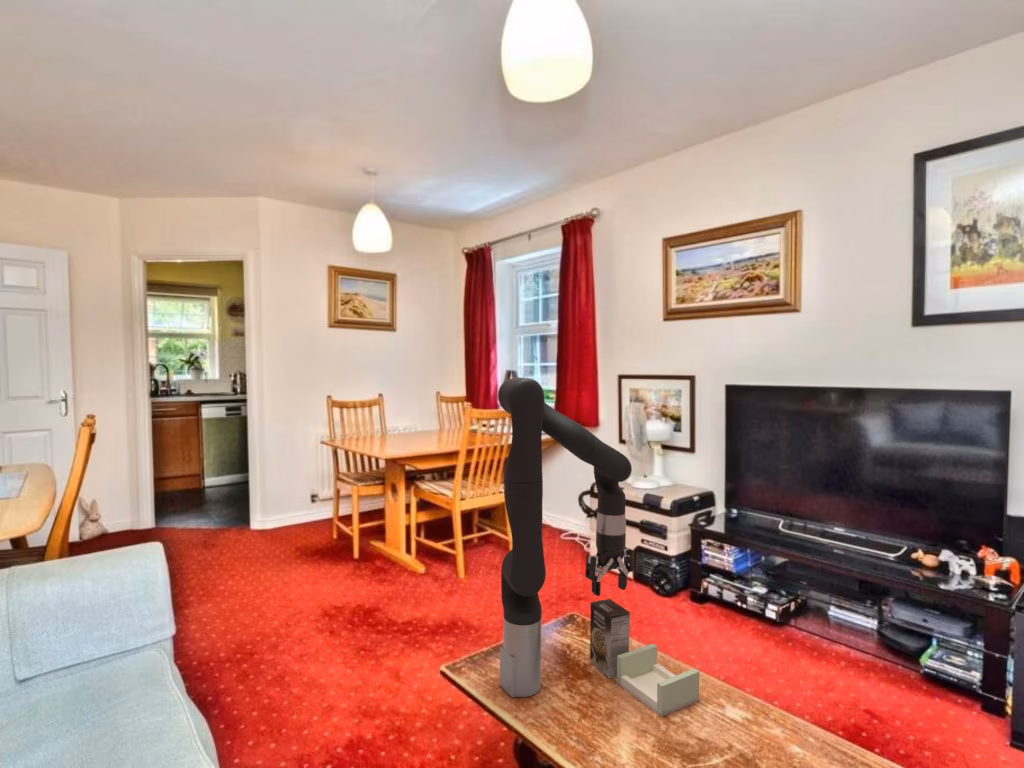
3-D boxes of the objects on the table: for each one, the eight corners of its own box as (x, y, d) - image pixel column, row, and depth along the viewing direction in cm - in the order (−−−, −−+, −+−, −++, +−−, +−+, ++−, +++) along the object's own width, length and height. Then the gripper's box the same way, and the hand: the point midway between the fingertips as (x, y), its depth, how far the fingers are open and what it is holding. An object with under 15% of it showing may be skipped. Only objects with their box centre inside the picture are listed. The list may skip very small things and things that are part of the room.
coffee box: (588, 661, 146) (589, 601, 146) (608, 656, 149) (609, 597, 149) (608, 679, 138) (609, 616, 138) (629, 673, 141) (630, 611, 140)
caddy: (661, 717, 124) (662, 686, 123) (616, 683, 136) (617, 655, 136) (698, 700, 130) (699, 671, 129) (652, 670, 143) (652, 643, 142)
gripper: (598, 537, 136) (597, 602, 136) (641, 529, 143) (640, 591, 143) (579, 529, 142) (578, 591, 143) (622, 522, 149) (620, 581, 150)
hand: (609, 591), depth 143 cm, fingers open, 8 cm apart
